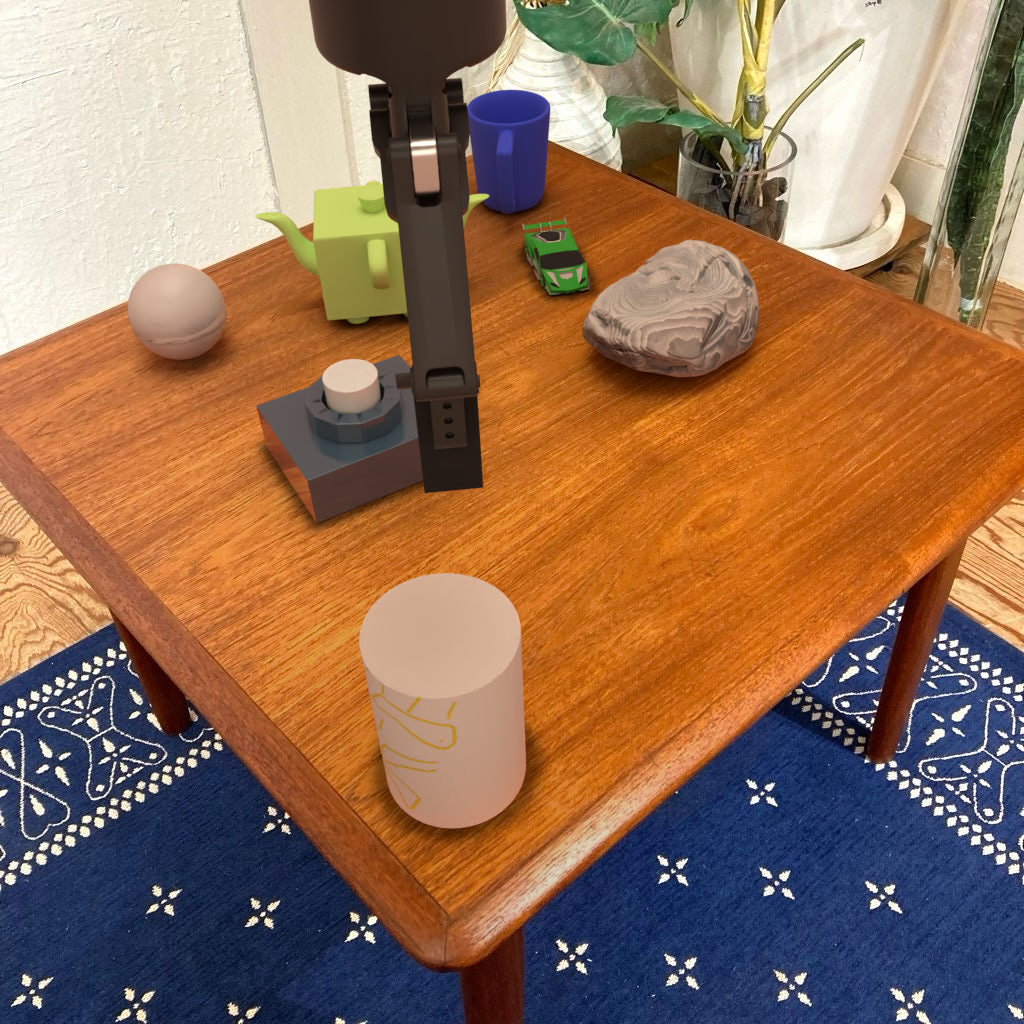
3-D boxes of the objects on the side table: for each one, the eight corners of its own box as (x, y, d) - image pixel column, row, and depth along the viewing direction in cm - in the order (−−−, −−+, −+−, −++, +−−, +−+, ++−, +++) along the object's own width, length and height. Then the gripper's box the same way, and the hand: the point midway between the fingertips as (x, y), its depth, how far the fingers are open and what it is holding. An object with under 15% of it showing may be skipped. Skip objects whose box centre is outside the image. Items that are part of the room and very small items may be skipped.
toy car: (595, 291, 98) (596, 269, 96) (545, 299, 97) (545, 277, 96) (567, 237, 105) (567, 216, 103) (520, 244, 104) (519, 223, 103)
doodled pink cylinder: (360, 754, 63) (329, 622, 55) (472, 685, 66) (460, 550, 58) (437, 855, 58) (416, 727, 50) (554, 775, 62) (553, 642, 53)
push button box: (316, 523, 77) (303, 461, 73) (266, 447, 83) (251, 386, 79) (462, 464, 81) (457, 402, 77) (404, 396, 88) (396, 335, 83)
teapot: (274, 309, 97) (250, 202, 90) (368, 245, 105) (353, 141, 98) (405, 361, 91) (392, 250, 84) (495, 288, 99) (490, 180, 92)
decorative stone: (584, 371, 84) (606, 242, 80) (568, 332, 96) (586, 218, 93) (764, 394, 85) (794, 268, 81) (725, 352, 98) (749, 241, 94)
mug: (465, 239, 105) (459, 143, 99) (475, 182, 114) (469, 89, 107) (548, 239, 105) (548, 142, 98) (551, 181, 114) (551, 88, 107)
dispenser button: (339, 422, 77) (335, 398, 75) (317, 393, 79) (313, 369, 78) (390, 403, 78) (387, 379, 76) (367, 375, 80) (363, 352, 79)
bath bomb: (126, 349, 94) (99, 269, 88) (207, 314, 97) (186, 235, 92) (168, 390, 89) (142, 309, 84) (252, 352, 93) (232, 271, 87)
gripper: (548, 60, 31) (550, 565, 46) (474, -149, 49) (493, 262, 64) (286, 79, 30) (374, 583, 45) (309, -139, 48) (366, 272, 63)
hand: (444, 396), depth 54 cm, fingers open, 13 cm apart
